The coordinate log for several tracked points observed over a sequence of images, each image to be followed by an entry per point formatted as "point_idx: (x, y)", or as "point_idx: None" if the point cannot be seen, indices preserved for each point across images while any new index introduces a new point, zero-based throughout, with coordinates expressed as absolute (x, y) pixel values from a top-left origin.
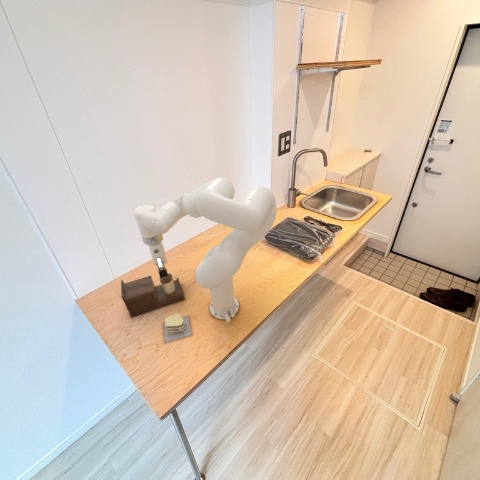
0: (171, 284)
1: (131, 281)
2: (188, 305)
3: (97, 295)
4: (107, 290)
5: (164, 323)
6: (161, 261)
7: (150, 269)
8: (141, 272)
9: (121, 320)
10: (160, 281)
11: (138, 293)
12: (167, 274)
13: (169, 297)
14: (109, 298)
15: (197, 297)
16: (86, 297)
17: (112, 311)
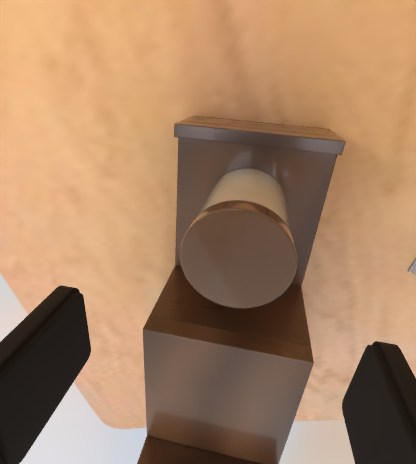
0: (285, 217)
1: (147, 413)
2: (395, 122)
3: (105, 397)
4: (92, 374)
5: (410, 270)
6: (74, 331)
7: (13, 225)
8: (25, 263)
9: None
10: (249, 303)
11: (275, 421)
12: (406, 369)
13: (314, 226)
14: (135, 378)
15: (375, 35)
16: (102, 416)
17: None
